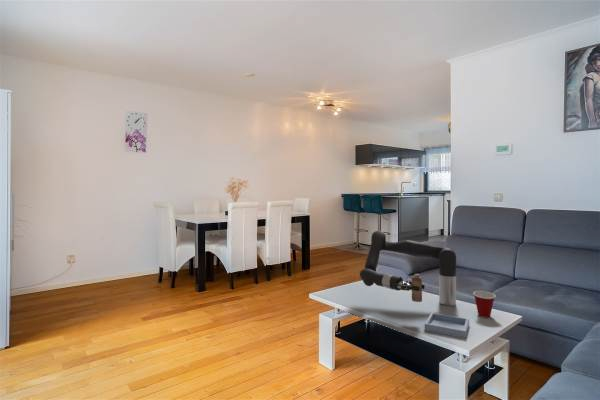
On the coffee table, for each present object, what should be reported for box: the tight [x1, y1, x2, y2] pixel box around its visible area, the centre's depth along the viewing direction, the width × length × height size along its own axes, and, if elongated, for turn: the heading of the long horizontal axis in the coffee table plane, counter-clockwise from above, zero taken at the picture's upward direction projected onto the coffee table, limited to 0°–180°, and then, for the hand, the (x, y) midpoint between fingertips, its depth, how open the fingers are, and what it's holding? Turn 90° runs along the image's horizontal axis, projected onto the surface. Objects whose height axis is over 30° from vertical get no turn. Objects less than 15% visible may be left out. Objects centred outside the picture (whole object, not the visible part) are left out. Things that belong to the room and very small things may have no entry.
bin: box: [424, 312, 470, 339], centre depth 166 cm, size 18×18×3 cm
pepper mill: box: [411, 273, 423, 303], centre depth 175 cm, size 5×5×14 cm
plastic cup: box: [472, 290, 497, 318], centre depth 182 cm, size 11×11×12 cm
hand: (421, 288), depth 173 cm, fingers closed on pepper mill, 5 cm apart
